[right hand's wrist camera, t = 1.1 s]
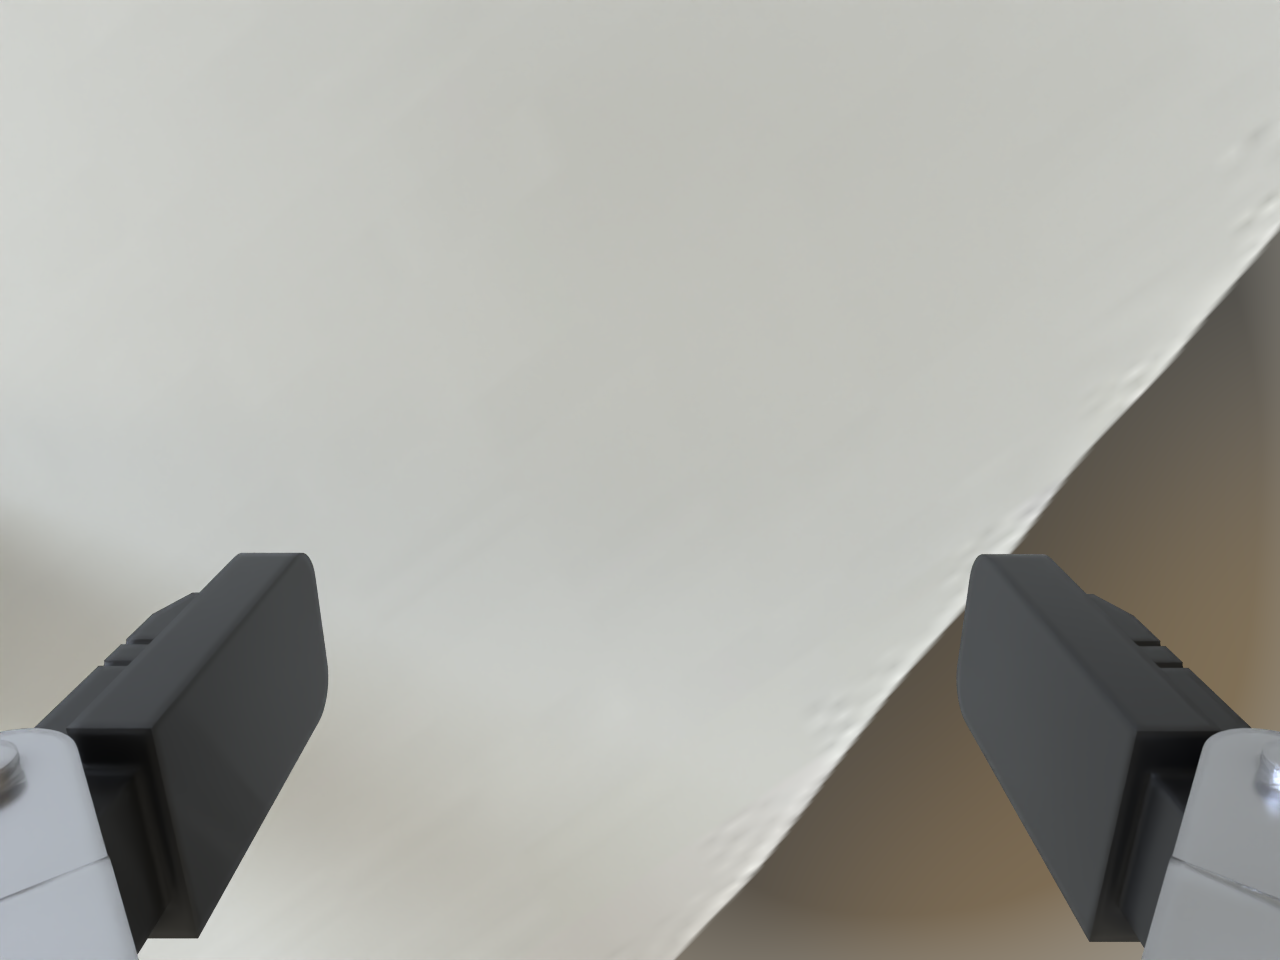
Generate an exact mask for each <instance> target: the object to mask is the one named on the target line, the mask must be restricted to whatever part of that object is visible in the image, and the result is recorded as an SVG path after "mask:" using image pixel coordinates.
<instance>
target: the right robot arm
mask: <svg viewBox="0 0 1280 960" xmlns="http://www.w3.org/2000/svg"><path fill="white" fill-rule="evenodd" d="M327 690H328V665H327V658H326V650H325V643H324V636H323V629H322V622H321V614H320V607H319V600H318V593H317V586H316V578H315V572H314V568H313V565H312V562H311V560H310V558H309V557H308V556H307V555H306V554H304V553H240V554H238V555H237V556H235V557H234V558H233V559H232V560H231V561H230V562H229V563H228V564H227V565H226V566H225V567H224V568H223V569H222V570H221V571H220V572H219V573H218V574H217V575H216V576H215V577H214V578H213V579H212V581H211V582H210V583H209V584H208V585H207V586H206V587H205V588H204V589H203V590H202V591H201V592H200V593H191V594H189V595H187V596H185V597H184V598H182V599H180V600H178V601H176V602H174V603H172V604H171V605H169V606H167V607H165V608H163V609H161V610H159V611H157V612H156V613H154V614H152V615H151V616H150V617H149V618H148V619H147V620H146V621H145V622H144V623H143V624H142V625H141V626H140V627H139V628H138V629H137V630H136V631H134V632H133V633H132V634H131V635H130V636H129V637H128V638H127V639H126V644H121V645H120V646H119V647H118V648H117V649H116V650H115V651H114V652H113V653H112V654H111V655H110V656H108V657H107V658H106V659H105V660H104V666H98V667H97V668H96V669H95V670H94V671H93V672H92V673H91V674H90V675H89V676H88V677H87V678H86V679H85V680H84V681H82V682H81V683H80V684H79V685H78V686H77V687H76V688H75V689H74V690H73V691H72V692H71V693H70V694H69V695H68V696H67V697H66V698H65V699H64V700H63V701H62V702H61V703H60V704H59V705H57V706H56V707H55V708H54V709H53V710H52V711H51V712H50V713H49V714H48V715H47V716H46V717H45V718H44V719H43V720H42V721H41V722H40V723H39V724H38V725H37V726H36V727H35V728H23V729H15V730H7V731H2V732H0V960H139V959H138V955H137V954H138V953H139V951H140V950H141V948H142V946H143V945H144V943H145V942H146V940H147V938H198V937H199V936H200V934H201V932H202V930H203V928H204V927H205V925H206V923H207V921H208V919H209V918H210V916H211V914H212V912H213V910H214V909H215V907H216V905H217V903H218V902H219V900H220V898H221V896H222V894H223V893H224V891H225V889H226V887H227V885H228V884H229V882H230V880H231V878H232V876H233V875H234V873H235V871H236V869H237V867H238V866H239V864H240V862H241V860H242V858H243V857H244V855H245V853H246V851H247V849H248V848H249V846H250V844H251V842H252V841H253V839H254V837H255V835H256V833H257V832H258V830H259V828H260V826H261V824H262V823H263V821H264V819H265V817H266V815H267V814H268V812H269V810H270V808H271V806H272V805H273V803H274V801H275V799H276V797H277V796H278V794H279V792H280V790H281V789H282V787H283V785H284V783H285V781H286V780H287V778H288V776H289V774H290V772H291V771H292V769H293V767H294V765H295V763H296V762H297V760H298V758H299V756H300V754H301V753H302V751H303V749H304V747H305V745H306V744H307V742H308V740H309V738H310V737H311V735H312V733H313V731H314V729H315V728H316V726H317V724H318V722H319V720H320V718H321V716H322V713H323V710H324V707H325V702H326V697H327ZM957 693H958V699H959V705H960V709H961V712H962V715H963V718H964V720H965V722H966V724H967V726H968V728H969V729H970V731H971V733H972V735H973V736H974V738H975V740H976V742H977V744H978V745H979V747H980V749H981V751H982V752H983V754H984V756H985V758H986V759H987V761H988V763H989V765H990V767H991V768H992V770H993V772H994V774H995V775H996V777H997V779H998V781H999V782H1000V784H1001V786H1002V788H1003V790H1004V791H1005V793H1006V795H1007V797H1008V798H1009V800H1010V802H1011V804H1012V805H1013V807H1014V809H1015V811H1016V813H1017V814H1018V816H1019V818H1020V820H1021V821H1022V823H1023V825H1024V827H1025V829H1026V830H1027V832H1028V834H1029V836H1030V837H1031V839H1032V841H1033V843H1034V844H1035V846H1036V848H1037V850H1038V852H1039V853H1040V855H1041V857H1042V859H1043V860H1044V862H1045V864H1046V866H1047V868H1048V869H1049V871H1050V873H1051V875H1052V876H1053V878H1054V880H1055V882H1056V883H1057V885H1058V887H1059V889H1060V891H1061V892H1062V894H1063V896H1064V898H1065V899H1066V901H1067V903H1068V905H1069V907H1070V908H1071V910H1072V912H1073V914H1074V915H1075V917H1076V919H1077V921H1078V922H1079V924H1080V926H1081V928H1082V929H1083V931H1084V933H1085V935H1086V937H1087V938H1088V940H1089V942H1141V944H1142V945H1143V947H1144V952H1143V956H1142V959H1141V960H1280V732H1278V731H1273V730H1265V729H1256V728H1251V727H1250V726H1249V725H1248V724H1247V723H1246V722H1245V721H1244V720H1242V719H1241V718H1240V717H1239V716H1238V715H1237V714H1236V713H1235V712H1234V711H1233V710H1232V709H1231V708H1230V707H1229V706H1228V705H1227V704H1226V703H1225V702H1224V701H1223V700H1221V699H1220V698H1219V697H1218V696H1217V695H1216V694H1215V693H1214V692H1213V691H1212V690H1211V689H1210V688H1209V687H1208V686H1207V685H1206V684H1205V683H1204V682H1203V681H1202V680H1200V679H1199V678H1198V677H1197V676H1196V675H1195V674H1194V673H1193V672H1192V671H1191V670H1190V669H1189V668H1183V666H1182V661H1181V660H1180V659H1178V658H1177V657H1176V656H1175V655H1174V654H1173V653H1172V652H1171V651H1170V650H1169V649H1168V648H1167V647H1166V646H1161V645H1160V640H1159V639H1157V638H1156V637H1155V636H1154V635H1153V634H1152V633H1151V632H1150V631H1149V630H1148V629H1147V628H1146V627H1145V626H1144V625H1143V624H1142V623H1141V622H1140V621H1139V620H1137V619H1136V618H1135V617H1134V616H1133V615H1131V614H1129V613H1127V612H1126V611H1124V610H1122V609H1120V608H1118V607H1116V606H1114V605H1113V604H1111V603H1109V602H1107V601H1105V600H1103V599H1101V598H1099V597H1098V596H1096V595H1094V594H1086V593H1085V592H1084V591H1083V590H1082V589H1081V588H1080V587H1079V586H1078V585H1077V584H1076V583H1075V582H1074V581H1073V580H1072V579H1071V578H1070V577H1069V576H1068V575H1067V574H1066V573H1065V572H1064V571H1063V570H1062V569H1061V568H1060V567H1059V566H1058V565H1057V564H1056V563H1055V562H1054V561H1053V560H1052V559H1051V558H1050V557H1049V556H1047V555H1044V554H981V555H979V556H978V557H977V558H976V560H975V562H974V564H973V566H972V570H971V574H970V580H969V587H968V594H967V601H966V608H965V615H964V622H963V629H962V637H961V644H960V651H959V658H958V665H957Z"/></svg>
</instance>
